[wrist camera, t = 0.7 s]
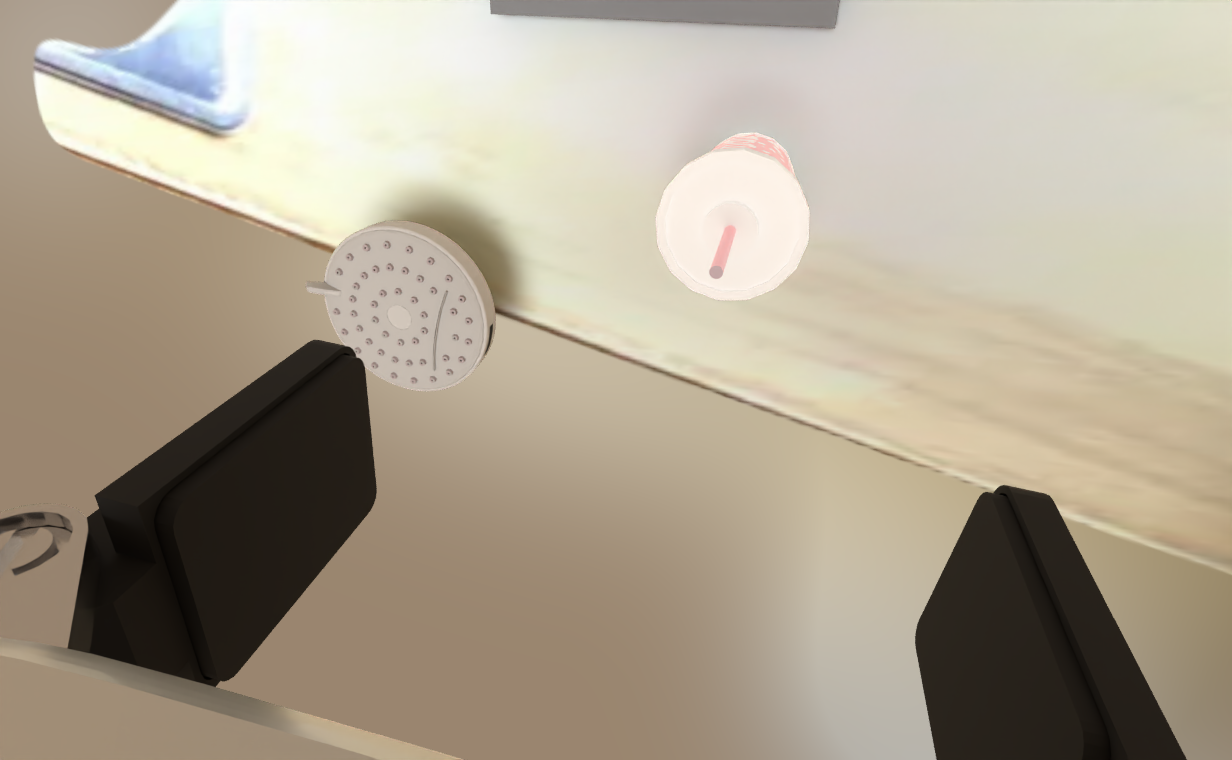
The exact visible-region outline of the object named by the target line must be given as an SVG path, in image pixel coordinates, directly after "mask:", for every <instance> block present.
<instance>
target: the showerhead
mask: <svg viewBox="0 0 1232 760" xmlns="http://www.w3.org/2000/svg"><path fill="white" fill-rule="evenodd" d="M306 289H307V291H308V292H311V293H316V294H323V295H325V303H326V307H327V311H328V314H329V318H330V320H331V322H332V324H333V327H334V329H335V331H336V333H337V335H338V336H339V338H340V339H341V341H342V342H343V344H344V345H345V346H349V347H351V348H352V349H353V350H354V352H355V354H356V357H357V358H360V359H361V360H362V361H363V363H364V366H365V367H366V368H367V369H368V370H370V371H371V372H372V373H374V374H375V375H377V376H378V377H380V378H382V379H384V380H386V381H388V382H390V383H391V384H395V385H397V386H400V387H403V388H406V389H411V390H417V391H437V390H443V389H447V388H450V387H452V386H454V385H457V384H458V383H460V382H462V381H463V380H464V379H466V378H467V377H468V376H470V374H471V373H472V372H473V371H474V370H475V369H476V368H477V366H478V365H479V364H480V363H481V361H482V360H483V359H484V357H485V356H486V355H487V353H488V351H489V349H490V346H491V344H492V342H493V338H494V333H495V324H496V322H495V321H496V317H495V307H494V302H493V298H492V295H491V292H490V289H489V287H488V284H487V282H486V280H485V278H484V276H483V274H482V273H481V271H480V270H479V268H478V267H477V265H476V264H475V262H474V261H473V260H472V259H471V257H470V256H469V255H468V254H467V253H466V252H465V251H464V250H463V249H462V248H461V247H460V246H459V245H458V244H456V243H455V242H454V241H452V240H451V239H450V238H448V237H447V236H445V235H444V234H442V233H440V232H438V231H436V230H435V229H432V228H430V227H428V226H425V225H422V224H419V223H415V222H410V221H398V220H392V221H384V222H380V223H376V224H374V225H371V226H369V227H366V228H364V229H362V230H360V231H357V232H355V233H354V234H352V235H350V236H349V237H347V238H346V239H345V240H344V241H342V242H341V243H340V244H339V246H338V247H337V248H336V249H335V251H334V252H333V254H332V256H331V258H330V260H329V262H328V265H327V268H326V273H325V279H324V282H313V281H306Z"/></svg>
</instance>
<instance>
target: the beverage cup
mask: <svg viewBox="0 0 1232 760" xmlns="http://www.w3.org/2000/svg"><path fill="white" fill-rule="evenodd" d="M655 220H656V232H657V245H658V248H659V250H660V252H661V254H662V256H663V258H664V260H665V262H666V264H667V266H668V268H669V270H670V272H671V273H672V274H673V275H675V276H676V277H677V278H678V279H679V280H680V281H681V282H683V283H684V284H685V285H686V286H687V287H688V288H689V289H690V290H692V291H694V292H697V293H700V294H702V295H705V296H708V297H711V298H713V299H716V300H749V299H751V298H754V297H756V296H759V295H761V294H764V293H766V292H769V291H771V290H774V289H775V288H776V287H777V286H779V285H780V284H781V283H782V282H783V281H784V280H785V279H786V278H787V277H788V276H789V275H790V274H791V273H792V272H793V271H795V270H796V268H797V266H798V264H799V262H800V260H801V257H802V255H803V253H804V251H805V249H806V246H807V244H808V242H809V206H808V203H807V201H806V198H805V196H804V194H803V191H802V189H801V186H800V184H799V182H798V179H797V178H796V177H795V173H794V168H793V166H792V163H791V161H790V158H789V156H788V154H787V151H786V150H785V149H784V148H783V147H782V146H781V145H780V144H779V143H778V142H777V141H775V140H774V139H773V138H771V137H768V136H765V135H762V134H759V133H756V132H753V133H740V134H736V135H734V136H732V137H730V138H728V139H726V140H724V141H722V142H720V143H719V144H718V145H717V146H716V147H715V148H714V149H712V150H711V151H710V152H709V153H707V154H705V155H703V156H701V157H699V158H697V159H695V160H693V161H691V162H689V163H687V164H686V165H685V166H684V167H683V168H682V170H681V171H680V172H679V173H678V174H677V175H676V177H675V178H674V179H673V180H672V181H671V182H670V184H669V185H668V186H667V187H666V188H665V190H664V193H663V196H662V199H661V202H660V205H659V208H658V211H657V214H656V217H655Z"/></svg>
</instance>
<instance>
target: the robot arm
mask: <svg viewBox="0 0 1232 760" xmlns="http://www.w3.org/2000/svg"><path fill="white" fill-rule="evenodd" d="M376 489H377V488H376V478H375V468H374V457H373V447H372V437H371V426H370V416H369V406H368V396H367V386H366V374H365V366H364V363H363V361H362V360H361V359H360V358H357V357H356V354H355V352H354V350H353V349H352V348H351V347H349V346H344V345H339V344H335V343H330V342H325V341H320V340H313V341H310V342H308V343H307V344H306V345H304V346H303V347H301V348H300V349H299V350H297V351H296V352H294V353H293V354H292V355H290V356H289V357H288V358H286V359H285V360H283V361H282V362H280V363H279V364H278V365H277V366H275V367H273V368H272V369H271V370H269V371H268V372H266V373H265V374H264V375H262V376H261V377H260V378H258V379H257V380H255V381H254V382H252V383H251V384H250V385H248V386H247V387H246V388H244V389H243V390H241V391H240V392H239V393H237V394H236V395H235V396H233V397H232V398H230V399H229V400H227V401H226V402H225V403H223V404H222V405H220V406H219V407H218V408H216V409H215V410H214V411H212V412H211V413H209V414H208V415H207V416H205V417H204V418H202V419H201V420H200V421H198V422H197V423H195V424H194V425H193V426H191V427H190V428H188V429H187V430H185V431H184V432H183V433H181V434H180V435H178V436H177V437H176V438H174V439H173V440H171V441H170V442H169V443H167V444H166V445H165V446H163V447H162V448H160V449H159V450H157V451H156V452H155V453H153V454H152V455H151V456H149V457H148V458H146V459H145V460H144V461H142V462H141V463H139V464H138V465H137V466H135V467H134V468H132V469H131V470H130V471H128V472H127V473H125V474H124V475H123V476H121V477H120V478H118V479H117V480H116V481H114V482H113V483H111V484H110V485H109V486H107V487H106V488H104V489H103V490H102V491H100V492H99V493H97V494H96V495H95V497H96V500H97V503H98V506H99V509H98V510H97V511H95V512H94V513H93V514H91V515H90V516H89V517H87V518H86V517H85V516H84V515H83V513H82V512H80V510H78V509H76V508H73V507H70V506H67V505H64V504H51V503H43V504H33V505H25V506H21V507H17V508H13V509H9V510H5V511H1V512H0V760H464V759H460V758H457V757H453V756H450V755H446V754H443V753H440V752H436V751H433V750H429V749H426V748H423V747H419V746H416V745H413V744H409V743H406V742H403V741H399V740H395V739H392V738H388V737H386V736H382V735H379V734H375V733H372V732H368V731H365V730H361V729H358V728H354V727H351V726H348V725H344V724H341V723H337V722H334V721H330V720H327V719H323V718H320V717H316V716H313V715H310V714H306V713H303V712H299V711H296V710H292V709H289V708H285V707H282V706H278V705H275V704H271V703H268V702H265V701H261V700H258V699H254V698H251V697H247V696H243V695H241V694H237V693H234V692H230V691H227V690H223V689H220V688H216V686H217V684H218V683H219V682H220V681H227V680H229V679H231V678H232V677H234V676H235V675H236V674H237V673H238V671H239V670H240V669H241V668H242V667H243V665H244V664H245V663H246V662H247V661H248V659H249V658H250V657H251V656H252V654H253V653H254V652H255V651H256V650H257V648H258V647H259V646H260V645H261V644H262V642H263V641H264V640H265V639H266V637H267V636H268V635H269V634H270V633H271V631H272V630H273V629H274V627H276V625H277V624H278V623H279V622H280V620H281V619H282V618H283V617H284V616H285V614H286V613H287V612H288V611H289V609H290V608H291V607H292V606H293V605H294V603H295V602H296V601H297V600H298V598H299V597H300V596H301V595H302V594H303V592H304V591H305V590H306V588H307V587H308V586H309V585H310V584H311V583H312V581H313V580H314V579H315V578H316V577H317V575H318V574H319V573H320V572H321V570H322V569H323V568H324V567H325V566H326V564H327V563H328V562H329V561H330V560H331V558H332V557H333V556H334V554H335V553H336V552H337V551H338V550H339V548H340V547H341V546H342V545H343V544H344V542H345V541H346V540H347V539H348V538H349V536H350V535H351V534H352V533H353V531H354V530H355V529H356V528H357V526H358V525H359V524H360V523H361V522H362V520H363V519H364V518H365V517H366V516H367V514H368V513H369V512H370V510H371V508H372V506H373V504H374V501H375V499H376ZM915 644H916V652H917V657H918V662H919V668H920V673H921V678H922V684H923V689H924V694H925V700H926V705H927V711H928V716H929V721H930V727H931V731H932V737H933V743H934V748H935V753H936V759H937V760H1187V759H1186V757H1185V755H1184V754H1183V752H1182V750H1181V748H1180V746H1179V744H1178V742H1177V740H1176V738H1175V736H1174V734H1173V732H1172V730H1171V728H1170V726H1169V724H1168V722H1167V720H1166V718H1165V717H1164V715H1163V713H1162V711H1161V709H1160V707H1159V705H1158V703H1157V701H1156V699H1155V697H1154V695H1153V693H1152V691H1151V689H1150V687H1149V685H1148V683H1147V681H1146V680H1145V678H1144V676H1143V674H1142V672H1141V670H1140V668H1139V666H1138V664H1137V662H1136V660H1135V658H1134V656H1133V654H1132V652H1131V650H1130V648H1129V646H1128V644H1127V643H1126V641H1125V639H1124V637H1123V635H1122V633H1121V631H1120V629H1119V627H1118V625H1117V623H1116V621H1115V619H1114V618H1113V616H1112V614H1111V612H1110V610H1109V608H1108V606H1107V604H1106V602H1105V600H1104V598H1103V596H1102V594H1101V592H1100V590H1099V589H1098V587H1097V585H1096V583H1095V581H1094V579H1093V577H1092V575H1091V573H1090V571H1089V569H1088V567H1087V565H1086V563H1085V561H1084V559H1083V557H1082V555H1081V553H1080V552H1079V550H1078V548H1077V546H1076V544H1075V542H1074V540H1073V538H1072V536H1071V534H1070V532H1069V530H1068V529H1067V526H1066V524H1065V522H1064V520H1063V518H1062V516H1061V514H1060V513H1059V511H1058V509H1057V507H1056V505H1055V503H1054V501H1053V499H1052V498H1051V497H1050V496H1049V495H1047V494H1044V493H1039V492H1035V491H1030V490H1025V489H1020V488H1016V487H1011V486H1006V485H1003V486H1000V487H998V488H997V489H996V490H995V492H994V493H989V492H985V493H983V494H982V495H981V496H980V497H979V499H978V500H977V503H976V504H975V506H974V508H973V510H972V513H971V515H970V517H969V519H968V521H967V523H966V525H965V527H964V529H963V531H962V533H961V535H960V537H959V539H958V541H957V543H956V546H955V547H954V549H953V552H952V554H951V556H950V558H949V560H948V562H947V564H946V566H945V568H944V570H943V572H942V574H941V576H940V578H939V580H938V582H937V584H936V586H935V589H934V591H933V593H932V595H931V597H930V599H929V601H928V603H927V605H926V607H925V609H924V611H923V613H922V615H921V617H920V619H919V622H918V625H917V629H916V636H915Z"/></svg>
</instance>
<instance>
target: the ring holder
mask: <svg viewBox="0 0 1232 760" xmlns="http://www.w3.org/2000/svg"><path fill="white" fill-rule="evenodd" d="M839 1H840V0H490V8H491V14H503V15H527V16H551V17H575V18H600V19H624V20H648V21H672V22H696V23H720V24H745V25H769V26H793V27H817V28H835V25H836V19H837V13H838V7H839Z"/></svg>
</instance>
